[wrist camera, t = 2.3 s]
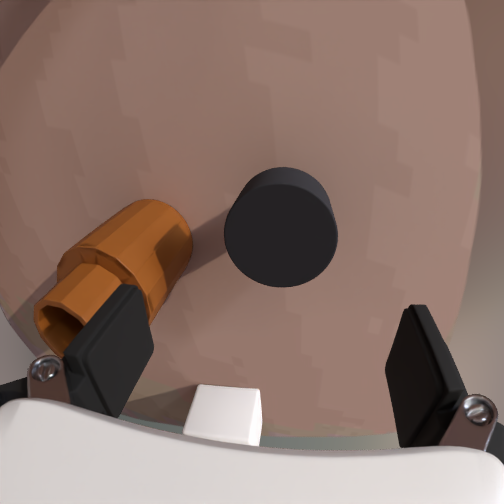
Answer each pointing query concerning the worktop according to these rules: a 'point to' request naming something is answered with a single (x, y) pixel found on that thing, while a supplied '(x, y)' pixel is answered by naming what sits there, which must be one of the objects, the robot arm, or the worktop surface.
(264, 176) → the stopper
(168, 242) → the amber bottle
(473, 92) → the worktop surface
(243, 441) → the medicine bottle
